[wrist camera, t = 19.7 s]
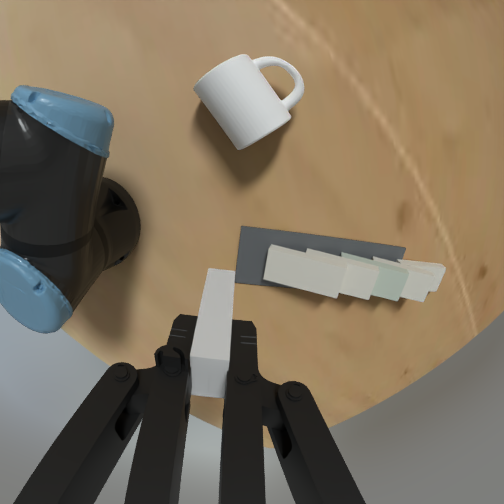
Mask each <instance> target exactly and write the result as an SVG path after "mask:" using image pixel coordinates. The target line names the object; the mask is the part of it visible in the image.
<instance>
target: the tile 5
mask: <svg viewBox="0 0 504 504" xmlns="http://www.w3.org/2000/svg"><path fill="white" fill-rule="evenodd" d="M396 262H397V263H401V264H405V265H408V266H412V267H416V268H420V269H423V270H427V271H431V272H433V274H434V276H435V277H434V280H433V282H432V284H431V287H430V289H429V291H435V292H436V291H437V288H438V286H439V284H440V282H441V280H442V277H443V275H444V273H445V270H446V268H445V267H444V266H443V265H442V264H439V263H429V262H420V261H410V260H401V259H397V260H396Z"/></svg>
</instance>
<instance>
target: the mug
mask: <svg viewBox="0 0 504 504" xmlns="http://www.w3.org/2000/svg"><path fill="white" fill-rule="evenodd" d="M268 66H280V67H282V68H284V69H285V70H286V71H287V72H288V73H289V74H290V75H291V76H292V78H293V79H294V82H295V87H294V90H293V91H292V92H291V93H290V94H289V95H288V96H287V97H286V98H285V99H283V100H280V99H279V97H278V96H277V94H276V93H275V92H274V90H273V89H272V87H271V86H270V84H269V83H268V82H267V80H266V79H265V77H264V76H263V75H262V73H261V72H260V69H262V68H264V67H268ZM194 91H195V92H196V94H197V95H198V96H199V98H200V99H201V100H202V102H203V103H204V104H205V106H206V107H207V108H208V110H209V111H210V112H211V114H212V115H213V117H214V118H215V119H216V121H217V122H218V123H219V125H220V126H221V127H222V129H223V130H224V132H225V133H226V134H227V136H228V137H229V139H230V140H231V141H232V143H233V144H234V146H235V147H236V148H237V150H241V149H244V148H246V147H248V146H250V145H251V144H253V143H255V142H257V141H258V140H260V139H262V138H263V137H265V136H267V135H268V134H270V133H271V132H273V131H275V130H276V129H278V128H279V127H281V126H282V125H284V124H285V123H286V122H288V121H289V120H290V119H291V115H290V114H289V112H288V111H289V110H290V109H291V108H292V107H293V106H295V105H296V104H297V103H298V102H299V101H300V99H301V98H302V96H303V93H304V82H303V79H302V77H301V75H300V74H299V72H298V71H297V70H296V69H295V68H294V67H293V66H292V65H291V64H289V63H288V62H286V61H284V60H282V59H280V58H277V57H271V56H267V57H260V58H257V59H254V60H251V59H250V57H249V56H248V55H246V54H242V55H238V56H235V57H233V58H231V59H229V60H227V61H225V62H223V63H221V64H220V65H218V66H216V67H215V68H213V69H212V70H210V71H209V72H208V73H206V74H205V75H204V76H203V77H202V78H201V79H200V80H199V81H198V82H197V83H196V84H195V86H194Z"/></svg>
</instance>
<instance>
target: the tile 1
mask: <svg viewBox="0 0 504 504" xmlns="http://www.w3.org/2000/svg"><path fill="white" fill-rule="evenodd" d="M346 270H347V263H344V262H340V261H336V260H332V259H328V258H324V257H321V256H317V255H313V254H309V253H305V252H301V251H297V250H293V249H289V248H285V247H281V246H277V245H273V244H271V246H270V247H269V250H268V255H267V261H266V267H265V273H264V278H263V279H265V280H268V281H272V282H276V283H279V284H283V285H287V286H291V287H295V288H298V289H302V290H306V291H310V292H314V293H318V294H321V295H325V296H329V297H333V298H337V297H338V294H339V291H340V288H341V285H342V282H343V279H344V276H345V273H346Z"/></svg>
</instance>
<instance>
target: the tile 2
mask: <svg viewBox="0 0 504 504" xmlns="http://www.w3.org/2000/svg"><path fill="white" fill-rule="evenodd" d="M306 253H309V254H313V255H317V256H321V257H324V258H328V259H332V260H336V261H340V262H344V263H347V270H346V273H345V276H344V279H343V282H342V285H341V288H340V291H339V293H342V294H346V295H350V296H354V297H358V298H362V299H366V300H369V298H370V295H371V293H372V290H373V288H374V285H375V283H376V280H377V277H378V275H379V272H380V271H379V267H378V266H375V265H371V264H367V263H364V262H360V261H356V260H352V259H348V258H344V257H340V256H336V255H332V254H328V253H325V252H321V251H317V250H313V249H309V248H307V250H306Z"/></svg>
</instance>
